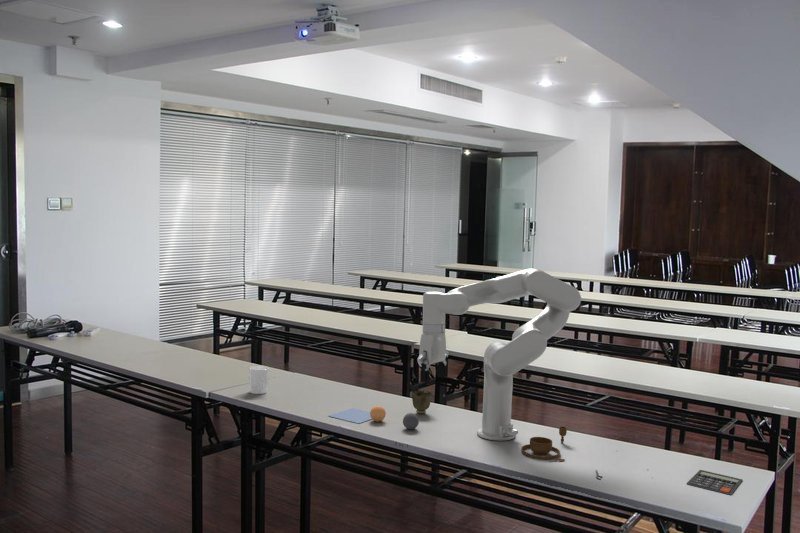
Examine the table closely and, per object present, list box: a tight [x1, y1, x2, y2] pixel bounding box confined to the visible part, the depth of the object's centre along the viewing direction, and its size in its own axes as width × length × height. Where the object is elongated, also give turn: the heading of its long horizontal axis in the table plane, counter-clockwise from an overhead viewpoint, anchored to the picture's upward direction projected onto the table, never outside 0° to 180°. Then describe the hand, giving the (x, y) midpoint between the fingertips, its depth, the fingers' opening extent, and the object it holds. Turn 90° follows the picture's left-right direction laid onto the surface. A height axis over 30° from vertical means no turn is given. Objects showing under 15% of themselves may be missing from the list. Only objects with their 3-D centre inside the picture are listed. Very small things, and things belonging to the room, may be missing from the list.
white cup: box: [248, 365, 270, 395], centre depth 280 cm, size 8×8×10 cm
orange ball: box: [369, 405, 387, 423], centre depth 245 cm, size 6×6×6 cm
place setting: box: [520, 426, 568, 463], centre depth 218 cm, size 18×20×6 cm
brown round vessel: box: [411, 389, 433, 415], centre depth 257 cm, size 8×7×8 cm
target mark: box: [328, 407, 373, 425], centre depth 251 cm, size 14×14×1 cm
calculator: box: [686, 469, 743, 496], centre depth 197 cm, size 12×1×15 cm
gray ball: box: [402, 412, 420, 431], centre depth 237 cm, size 6×6×6 cm
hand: (433, 379), depth 231 cm, fingers open, 9 cm apart
